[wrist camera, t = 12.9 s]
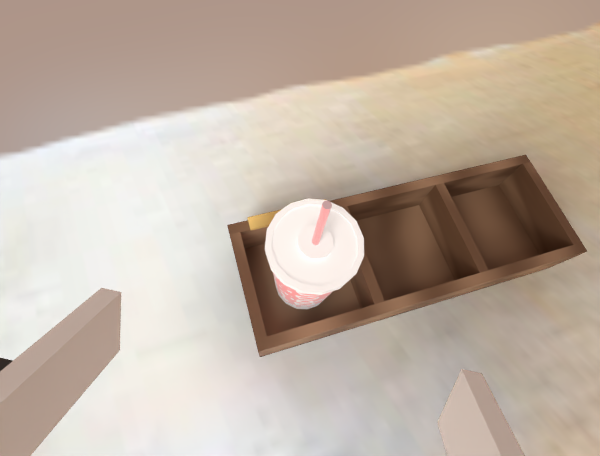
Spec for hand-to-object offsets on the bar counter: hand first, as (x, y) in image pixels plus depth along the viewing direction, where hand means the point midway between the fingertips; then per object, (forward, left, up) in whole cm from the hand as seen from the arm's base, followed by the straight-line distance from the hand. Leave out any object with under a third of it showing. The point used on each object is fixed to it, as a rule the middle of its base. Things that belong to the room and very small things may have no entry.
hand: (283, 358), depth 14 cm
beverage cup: (-4, -6, -15) cm, 17 cm away
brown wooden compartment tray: (-13, -6, -15) cm, 21 cm away
